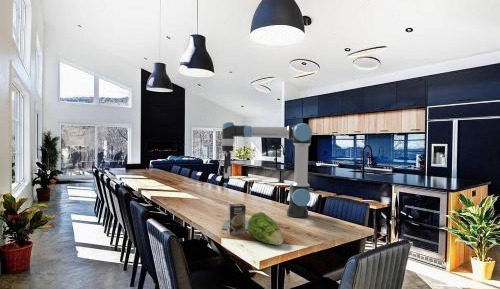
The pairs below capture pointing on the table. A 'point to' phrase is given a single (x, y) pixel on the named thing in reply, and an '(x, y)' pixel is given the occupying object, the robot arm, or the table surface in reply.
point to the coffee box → (236, 219)
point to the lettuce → (264, 229)
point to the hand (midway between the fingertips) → (227, 176)
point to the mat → (225, 226)
